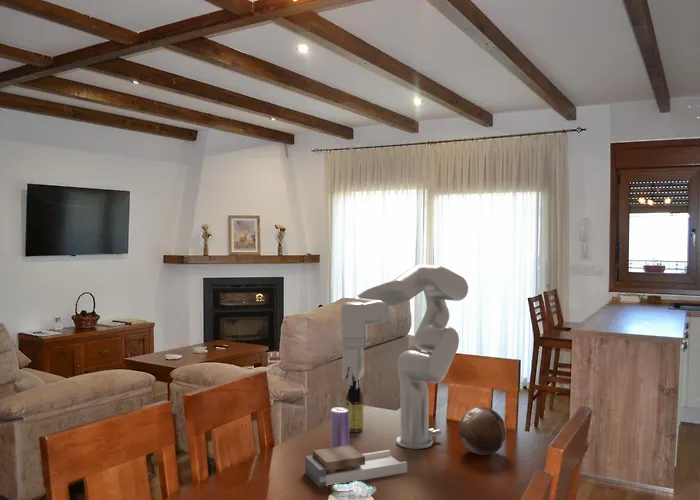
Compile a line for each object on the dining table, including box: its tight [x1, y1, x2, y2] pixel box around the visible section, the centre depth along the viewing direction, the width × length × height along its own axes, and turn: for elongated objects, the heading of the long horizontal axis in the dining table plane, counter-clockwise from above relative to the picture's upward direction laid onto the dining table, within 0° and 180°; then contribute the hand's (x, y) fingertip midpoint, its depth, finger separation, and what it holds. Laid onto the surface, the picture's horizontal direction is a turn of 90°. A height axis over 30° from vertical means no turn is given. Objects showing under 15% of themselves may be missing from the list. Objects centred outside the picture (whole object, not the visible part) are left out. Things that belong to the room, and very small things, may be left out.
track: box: [304, 449, 408, 488], centre depth 187 cm, size 28×12×5 cm, turn 114°
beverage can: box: [330, 406, 350, 448], centre depth 202 cm, size 6×6×15 cm
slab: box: [312, 444, 365, 474], centre depth 185 cm, size 12×11×5 cm
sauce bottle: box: [345, 389, 364, 433], centre depth 228 cm, size 7×6×20 cm
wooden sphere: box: [458, 406, 507, 456], centre depth 203 cm, size 15×15×15 cm
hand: (354, 401), depth 194 cm, fingers closed
